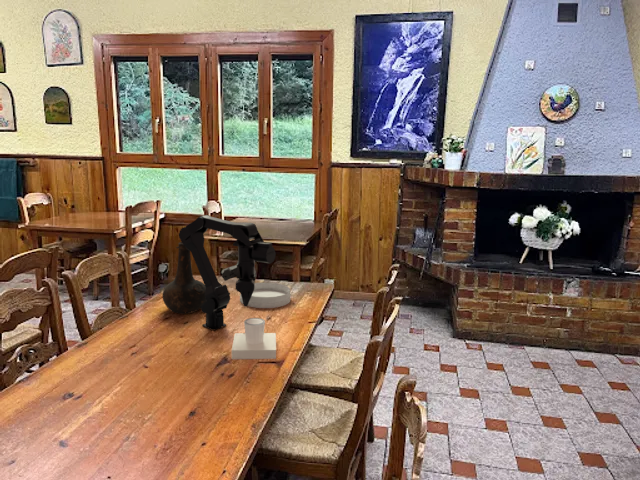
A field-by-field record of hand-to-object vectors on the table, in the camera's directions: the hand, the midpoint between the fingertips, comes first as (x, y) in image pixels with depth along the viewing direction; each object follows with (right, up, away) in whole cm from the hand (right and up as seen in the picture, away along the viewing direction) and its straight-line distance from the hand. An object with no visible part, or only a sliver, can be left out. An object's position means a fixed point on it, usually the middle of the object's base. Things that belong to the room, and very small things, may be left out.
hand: (246, 302), depth 170 cm
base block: (+4, -14, -10) cm, 18 cm away
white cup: (+4, -12, -11) cm, 17 cm away
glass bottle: (-28, -7, +25) cm, 38 cm away
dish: (+2, -5, +41) cm, 41 cm away
